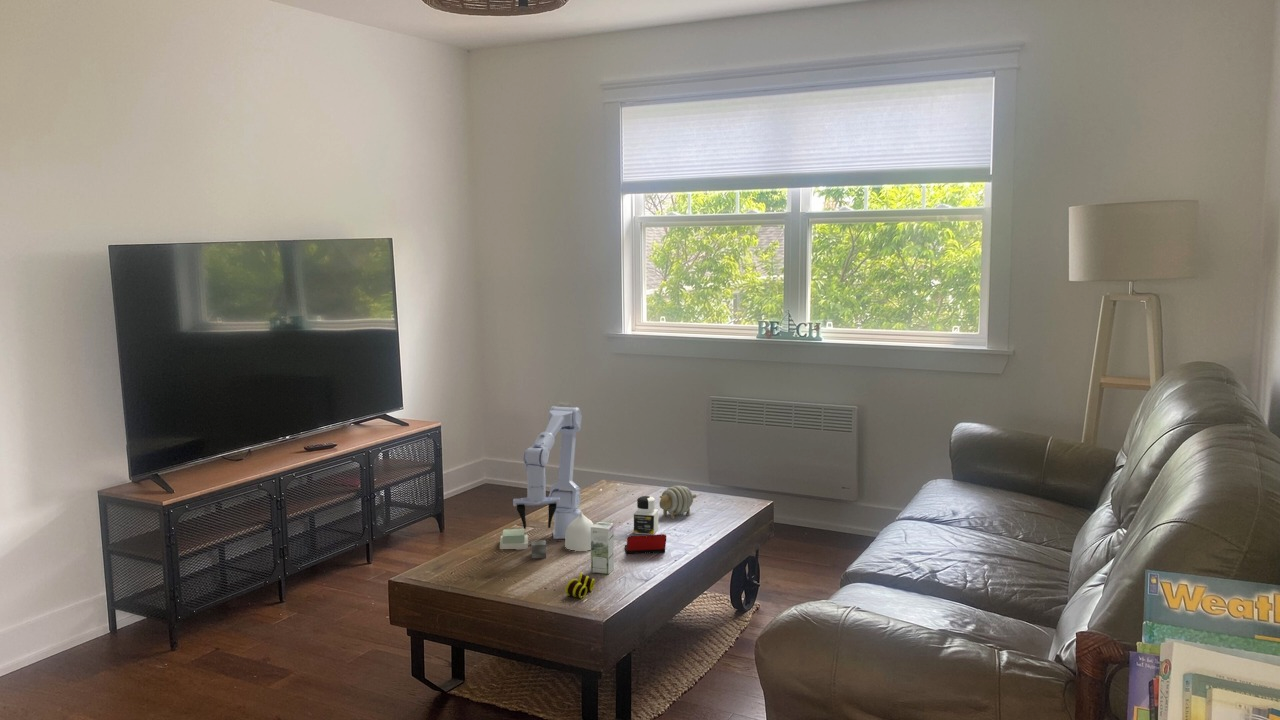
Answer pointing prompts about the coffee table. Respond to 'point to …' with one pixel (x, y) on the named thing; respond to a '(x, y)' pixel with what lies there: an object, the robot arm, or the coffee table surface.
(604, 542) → the syrup box
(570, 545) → the teardrop
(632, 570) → the coffee table surface
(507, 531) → the tower top slab
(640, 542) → the handheld game console
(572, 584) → the opera glasses
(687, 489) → the toy sheep
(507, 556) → the coffee table surface
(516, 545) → the tower base slab
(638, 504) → the medicine bottle
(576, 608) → the coffee table surface
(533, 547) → the slate cube
